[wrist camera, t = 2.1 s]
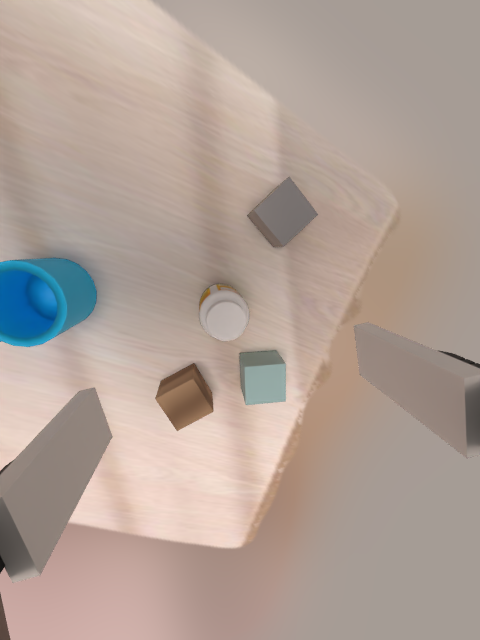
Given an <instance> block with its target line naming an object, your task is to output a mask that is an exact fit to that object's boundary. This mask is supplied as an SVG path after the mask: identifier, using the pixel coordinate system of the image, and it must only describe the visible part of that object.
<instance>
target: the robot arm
mask: <svg viewBox="0 0 480 640" xmlns="http://www.w3.org/2000/svg"><path fill="white" fill-rule="evenodd" d="M354 331H355V340H356V348H357V356H358V364H359V372H360V375H361V376H362V377H363V378H365V379H366V380H367V381H368V382H370V383H371V384H372V385H373V386H375V387H376V388H377V389H379V390H380V391H381V392H382V393H384V394H385V395H386V396H388V397H389V398H390V399H391V400H393V401H394V402H395V403H397V404H398V405H399V406H400V407H402V408H403V409H404V410H406V411H407V412H408V413H409V414H411V415H412V416H413V417H415V418H416V419H417V420H418V421H420V422H421V423H422V424H423V425H425V426H426V427H427V428H429V429H430V430H431V431H432V432H434V433H435V434H436V435H438V436H439V437H440V438H441V439H443V440H444V441H445V442H446V443H448V444H449V445H450V446H452V447H453V448H454V449H456V450H457V451H458V452H460V453H461V454H462V455H463V456H465V457H466V458H471V457H474V456H478V455H480V364H478V363H476V364H475V362H473V361H470V360H468V359H466V360H465V358H463V357H460V356H458V355H455V354H452V353H448V352H443V351H436V350H434V349H432V348H429V347H426V346H424V345H422V344H419V343H417V342H415V341H412V340H410V339H407V338H405V337H403V336H400V335H398V334H395V333H393V332H390V331H388V330H386V329H383V328H381V327H378V326H376V325H374V324H371V323H369V322H367V323H363V324H358V325H355V326H354ZM111 438H112V434H111V431H110V429H109V426H108V423H107V420H106V417H105V414H104V412H103V409H102V406H101V403H100V400H99V398H98V395H97V392H96V389H95V388H90V389H86V390H82V391H79V392H78V393H77V394H76V395H75V396H74V397H73V398H72V399H71V400H70V401H69V402H68V403H67V404H66V405H65V407H64V408H63V409H62V410H61V411H60V412H59V413H58V414H57V415H56V416H55V417H54V418H53V419H52V420H51V421H50V422H49V424H48V425H47V426H46V427H45V428H44V429H43V430H42V431H41V432H40V433H39V434H38V435H37V436H36V437H35V438H34V439H33V441H32V442H31V443H30V444H29V445H28V446H27V447H26V448H25V449H24V450H23V451H22V452H21V453H20V454H19V455H18V456H17V458H16V459H14V460H13V461H12V462H10V463H9V464H8V465H6V466H5V467H4V468H3V469H2V470H1V471H0V573H1V571H2V570H3V568H4V567H5V569H6V571H7V573H8V575H9V577H10V579H11V580H12V583H15V582H18V581H22V580H26V579H29V578H33V577H37V576H40V575H41V573H42V571H43V569H44V567H45V565H46V563H47V561H48V559H49V558H50V556H51V554H52V552H53V550H54V548H55V546H56V544H57V542H58V540H59V538H60V536H61V534H62V533H63V531H64V529H65V527H66V525H67V523H68V521H69V519H70V517H71V515H72V513H73V511H74V509H75V508H76V506H77V504H78V502H79V500H80V498H81V496H82V494H83V492H84V490H85V488H86V486H87V485H88V483H89V481H90V479H91V477H92V475H93V473H94V471H95V469H96V467H97V465H98V463H99V461H100V460H101V458H102V456H103V454H104V452H105V450H106V448H107V446H108V444H109V442H110V440H111ZM0 640H10V636H9V631H8V627H7V622H6V618H5V613H4V608H3V604H2V599H1V594H0Z"/></svg>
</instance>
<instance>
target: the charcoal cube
mask: <svg viewBox="0 0 480 640" xmlns="http://www.w3.org/2000/svg"><path fill="white" fill-rule="evenodd" d="M317 215H318V214H317V212H316V211H315V210H314V208H313V207H312V206H311V205H310V203H309V202H308V201H307V199H306V198H305V197H304V195H303V194H302V193H301V191H300V190H299V189H298V187H297V186H296V185H295V184H294V182H293V181H292V180H291V178H290V177H288V178H287V179H286V180H285V181H284V182H282V183H281V184H280V185H279V186H278V187H277V188H276V189H275V190H273V191H272V192H271V193H270V194H269V195H268V196H267V197H266V198H265V199H264V200H263V201H262V202H261V203H260V204H259V205H258V206H257V207H256V208H255V209H253V210H252V211H251V212H250V213H249V214H248V215H247V216H248V217H249V218H250V220H251V221H252V222H253V223H254V224H255V226H256V227H257V228H258V229H259V230H260V232H261V233H262V234H263V235H264V236H265V238H266V239H267V240H268V241H269V242H270V243H271V245H272V246H273V247H283V246H285V245H286V244H287V243H288V242H289V241H290V240H291V239H292V238H293V237H295V236H296V235H297V234H298V233H299V232H300V231H301V230H302V229H303V228H304V227H305V226H306V225H307V224H309V223H310V222H311V221H312V220H313V219H314V218H315V217H316V216H317Z"/></svg>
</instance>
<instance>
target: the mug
mask: <svg viewBox="0 0 480 640" xmlns="http://www.w3.org/2000/svg"><path fill="white" fill-rule="evenodd" d="M96 294H97V291H96V288H95V285H94V281H93V280H92V278H91V277H90V275H89V274H88V272H87V271H86V270H84V269H83V268H82V267H81V266H80V265H78V264H76V263H74V262H72V261H70V260H67V259H60V258H43V259H25V260H10V261H4V262H0V342H1V341H3V342H5V343H8V344H11V345H13V346H24V347H30V346H35V345H40V344H43V343H45V342H47V341H49V340H51V339H52V338H54V337H56V336H57V335H59V334H61V333H63V332H64V331H66V330H68V329H69V328H71V327H73V326H74V325H76V324H78V323H79V322H81V321H83V320H85V319H86V318H87V317H88V316H89V315H90V313H91V312H92V311H93V309H94V306H95V304H96Z"/></svg>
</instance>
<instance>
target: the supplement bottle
mask: <svg viewBox="0 0 480 640" xmlns="http://www.w3.org/2000/svg"><path fill="white" fill-rule="evenodd" d="M199 319H200V323H201V326H202V327H203V329H204V330H205V332H206V333H208V334H209V335H210V336H212V337H214V338H216V339H218V340H221V341H231V340H234V339H236V338H238V337H239V336H240V335H241V334H242V333H243V332H244V330H245V328H246V327H247V325H248V322H249V308H248V306H247V304H246V302H245V300H244V299H243V298H242V297H241V295H240V294H239V293H238V292H237V291H236V290H235V289H234V288H233V287H231V286H229V285H226V284H216V285H213V286H211V287H209V288H208V289H206V290H205V292H204V293H203V294H202V296H201V299H200V304H199Z"/></svg>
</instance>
